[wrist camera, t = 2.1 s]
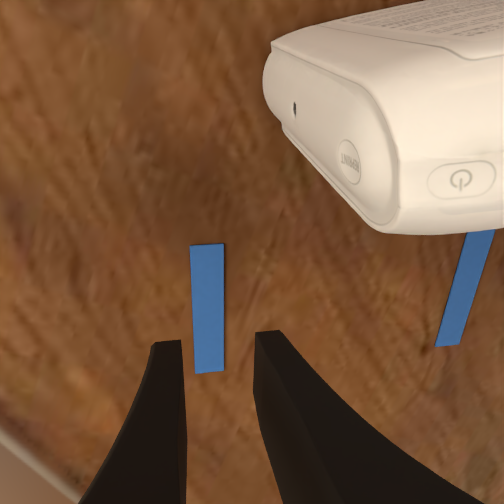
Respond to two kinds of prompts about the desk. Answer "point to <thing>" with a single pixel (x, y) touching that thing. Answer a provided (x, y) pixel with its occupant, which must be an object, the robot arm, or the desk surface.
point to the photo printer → (401, 112)
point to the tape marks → (212, 298)
